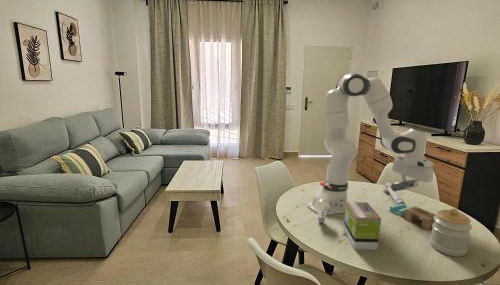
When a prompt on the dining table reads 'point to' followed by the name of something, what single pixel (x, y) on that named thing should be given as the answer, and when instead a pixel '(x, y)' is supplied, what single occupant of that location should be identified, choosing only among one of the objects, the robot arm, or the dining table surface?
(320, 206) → the light bulb
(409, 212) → the bearing block
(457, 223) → the jar
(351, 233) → the tea box
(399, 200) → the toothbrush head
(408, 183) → the axle
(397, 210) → the u channel
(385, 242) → the dining table surface
